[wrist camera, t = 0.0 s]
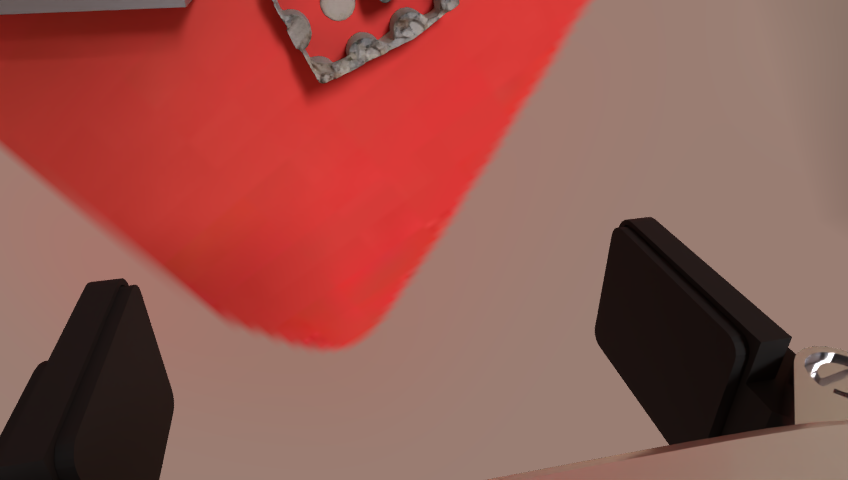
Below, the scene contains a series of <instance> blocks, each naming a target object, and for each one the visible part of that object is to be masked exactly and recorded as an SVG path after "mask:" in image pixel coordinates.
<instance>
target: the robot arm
mask: <svg viewBox="0 0 848 480" xmlns="http://www.w3.org/2000/svg"><path fill="white" fill-rule="evenodd" d="M595 336H596V340H597V342H598V344H599V346H600V348H601V349H602V350H603V352H604V353H605V355H606V356H607V357H608V359H609V360H610V362H611V363H612V364H613V366H614V367H615V369H616V370H617V372H618V373H619V374H620V376H621V377H622V379H623V380H624V382H625V383H626V384H627V386H628V387H629V389H630V390H631V391H632V393H633V394H634V396H635V397H636V398H637V400H638V401H639V403H640V404H641V405H642V407H643V408H644V410H645V411H646V413H647V414H648V415H649V417H650V418H651V420H652V421H653V422H654V424H655V425H656V426H657V428H658V430H659V431H660V432H661V434H662V435H663V437H664V438H665V439H666V441H667V442H668V444H669V445H668V446H663V447H657V448H652V449H647V450H642V451H636V452H631V453H625V454H620V455H614V456H609V457H604V458H598V459H593V460H588V461H582V462H577V463H572V464H567V465H561V466H556V467H551V468H546V469H540V470H535V471H530V472H525V473H519V474H514V475H509V476H504V477H499V478H494V479H488V480H848V352H847V351H844V350H841V349H837V348H832V347H826V346H825V347H823V346H820V347H819V346H812V347H808V348H804V349H802V350H801V351H799V352H798V353H797V354H795V353H794V352H793V351H792V350H790V349H789V348H788V346H789V343H790V341H791V338H792V337H791V336H790V335H789V334H787V333H786V332H785V331H784V330H783V329H782V328H780V327H779V326H778V325H777V324H776V323H775V322H773V321H772V320H771V319H770V318H769V317H768V316H766V315H765V314H764V313H763V312H762V311H761V310H760V309H758V308H757V307H756V306H755V305H754V304H753V303H751V302H750V301H749V300H748V299H747V298H746V297H744V296H743V295H742V294H741V293H740V292H739V291H737V290H736V289H735V288H734V287H733V286H732V285H731V284H729V283H728V282H727V281H726V280H725V279H724V278H722V277H721V276H720V275H719V274H718V273H717V272H716V271H714V270H713V269H712V268H711V267H710V266H709V265H707V264H706V263H705V262H704V261H703V260H702V259H700V258H699V257H698V256H697V255H696V254H694V253H693V252H692V251H691V250H690V249H689V248H688V247H687V246H685V245H684V244H683V243H682V242H681V241H680V240H678V239H677V238H676V237H675V236H674V235H673V234H671V233H670V232H669V231H668V230H667V229H666V228H664V227H663V226H662V225H661V224H660V223H659V222H657V221H656V220H655V219H653V218H652V217H646V218H637V219H629V220H624V221H623V222H622V223H621V224H620V226H619V228H616V229H614V231H613V233H612V237H611V243H610V248H609V254H608V259H607V265H606V271H605V276H604V282H603V287H602V292H601V298H600V303H599V309H598V315H597V320H596V325H595ZM173 410H174V398H173V393H172V389H171V386H170V383H169V380H168V377H167V373H166V370H165V367H164V364H163V360H162V357H161V355H160V351H159V348H158V345H157V342H156V338H155V335H154V332H153V329H152V326H151V323H150V319H149V316H148V313H147V310H146V307H145V304H144V301H143V297H142V295H141V291H140V289H139V287H138V286H137V285H130V286H129V285H128V283H127V282H126V280H124V279H123V278H122V279H113V280H105V281H97V282H90V283H88V284H87V285H86V287H85V289H84V290H83V292H82V294H81V296H80V298H79V300H78V302H77V304H76V306H75V308H74V310H73V312H72V314H71V316H70V318H69V320H68V322H67V324H66V326H65V328H64V330H63V332H62V334H61V336H60V338H59V340H58V342H57V344H56V346H55V348H54V350H53V352H52V354H51V356H50V358H49V360H48V361H44V362H42V363H40V364H39V365H38V366H37V368H36V369H35V370H34V372H33V374H32V376H31V378H30V380H29V382H28V384H27V386H26V387H25V389H24V391H23V393H22V395H21V397H20V399H19V401H18V403H17V405H16V407H15V409H14V410H13V412H12V414H11V416H10V418H9V420H8V422H7V424H6V426H5V428H4V430H3V432H2V434H1V435H0V480H159V477H160V473H161V468H162V464H163V459H164V454H165V449H166V444H167V440H168V434H169V430H170V425H171V420H172V416H173Z"/></svg>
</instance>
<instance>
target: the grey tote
mask: <svg viewBox="0 0 848 480" xmlns="http://www.w3.org/2000/svg"><path fill="white" fill-rule="evenodd" d="M191 1H192V0H0V15H4V14H29V13H53V12H78V11H102V10H126V9H151V8H175V7H187V5H188V4H189V3H190V2H191Z"/></svg>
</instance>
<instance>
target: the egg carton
mask: <svg viewBox="0 0 848 480" xmlns="http://www.w3.org/2000/svg"><path fill="white" fill-rule="evenodd" d="M272 1H273V2H274V6H275V8H276V10H277V12H278V14H279V16H280V17H281V19H282V20H283V22H284V23H285V24H286V26H287V32H288V34H289V36H290V38H291V40H292V42H293V44H294V46H295V47H296V49H299V50H300V51H301V52H302V53H303V55H304V57H305V58H306V60H307V62H308V64H309V66H310V67H311V69H312V71H313V73H314V74H315V76H316V78H317V80H318V81H319V82H320V83H327V82H329V81H331V80H333V79H336V78H338V77H341V76H342V75H344V74H346V73H349V72H351V71H353V70H355V69H357V68H358V67H360V66H362V65H364V64H365V62H367V61H369V60H372V59H374V58H376V57H378V56H381V55H383V54H385V53H387V52H388V51H389V50H391V49H394V48H396V47H398V46H400V45H402V44H404V43H406V42H408V41H410V40H413V39H414V38H416V37H417V36H418V35H419V34H421V33H422V32H423V31H425V30H426V29H427V28H429V27H430V26H431V25H432V24H433V23H434V22H436V21H437V20H438V19H440V18H441V17H442V16H443V15H444V14H445V13H447V12H448V11H451V10H453V9H454V8H455V7H456V6H458V4H459V0H434V9H432V10H431V11H430V12H428V13H427V14H424V15H422V14H420V13H419V12H418V11H416V10H414V9H412V8H409V7H405V8H400V9H399V10H397V11H396V12H395V13H394V14H393V15H392V17H391V19H390V31H389V32H387V33H386V34H385V35H384V36H383V37H382V38H380V39H379V40H377V39H376V38H375V37H374V36H373V35H372V34H369V33H366V32H358V33H356V34H354V35H353V36H351V38H350V39H349V40H348V42H347V44H346V54H347V56H346V57H345V58H343V59H341V60H338V61H336V62H332V61H330V60H329V59H328V58H326V57H323V56H315V57H309V55H308V53H307V52H306V50H305V48H306V47H307V46H308V44H309V42H310V40H311V34H312V32H311V26H310V23H309V21H308V19H307V18H306V16H305V15H304V14H302V13H301V12H300V11H298V10H294V9H287V10H282V9H281V8H280V6H279V3H278V1H277V0H272ZM380 1H381V2H382V3H387V2H389V1H390V0H380ZM320 6H321V9H322V11H323V13H324V14H325V15H326V16H327V17H329V18H330V19H332V20H336V21H342V20H345V19H347V18H348V17H350V15H352V13H353V11H354V8H355V0H320Z"/></svg>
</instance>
